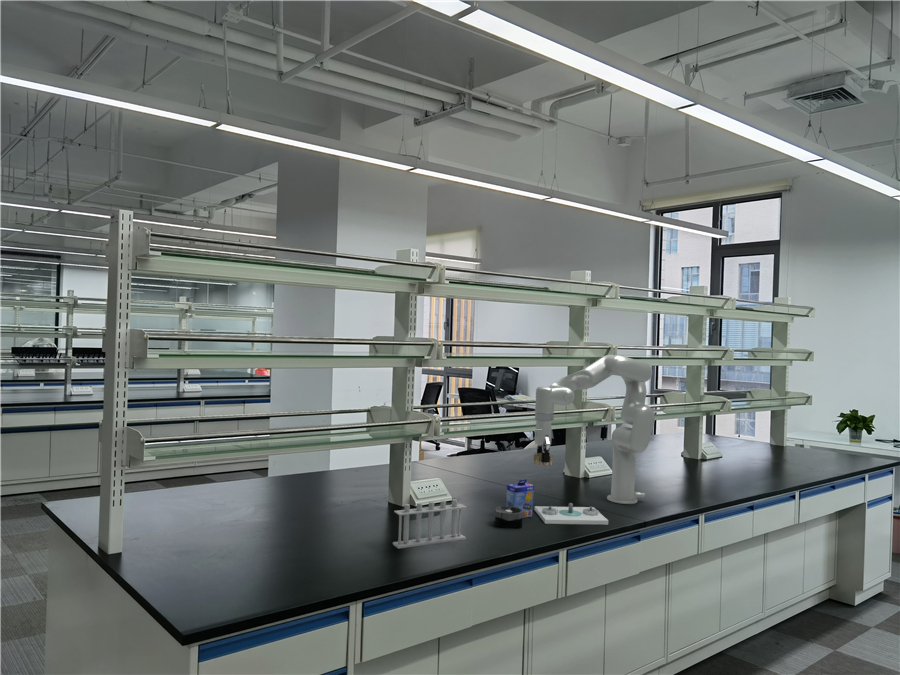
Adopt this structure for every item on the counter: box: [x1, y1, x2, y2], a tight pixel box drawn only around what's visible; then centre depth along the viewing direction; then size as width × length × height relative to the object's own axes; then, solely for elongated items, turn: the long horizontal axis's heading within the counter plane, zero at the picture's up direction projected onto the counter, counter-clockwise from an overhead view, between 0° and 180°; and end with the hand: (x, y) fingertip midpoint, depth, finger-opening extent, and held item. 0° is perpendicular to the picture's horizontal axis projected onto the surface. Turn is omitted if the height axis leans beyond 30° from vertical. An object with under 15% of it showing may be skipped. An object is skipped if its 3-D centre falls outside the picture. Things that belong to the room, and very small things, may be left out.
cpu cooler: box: [494, 505, 524, 529], centre depth 237 cm, size 10×6×10 cm
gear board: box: [534, 502, 609, 526], centre depth 250 cm, size 24×18×5 cm
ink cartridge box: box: [505, 478, 535, 519], centre depth 248 cm, size 10×6×14 cm, turn 125°
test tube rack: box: [392, 498, 468, 550], centre depth 214 cm, size 25×4×13 cm, turn 119°
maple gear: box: [533, 452, 554, 467], centre depth 265 cm, size 8×8×4 cm
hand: (543, 459), depth 265 cm, fingers closed on maple gear, 7 cm apart
